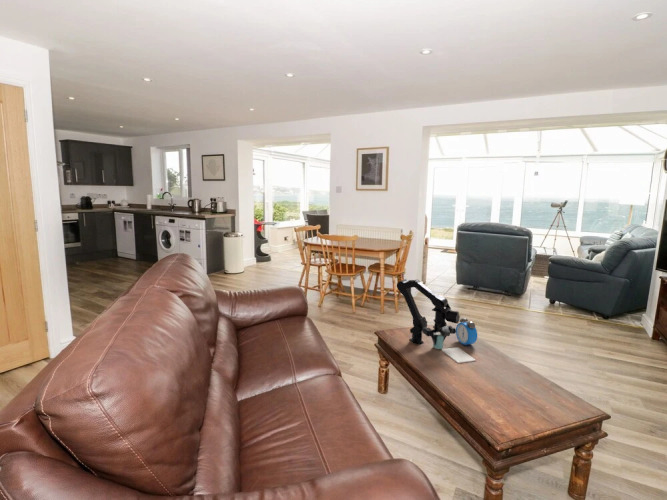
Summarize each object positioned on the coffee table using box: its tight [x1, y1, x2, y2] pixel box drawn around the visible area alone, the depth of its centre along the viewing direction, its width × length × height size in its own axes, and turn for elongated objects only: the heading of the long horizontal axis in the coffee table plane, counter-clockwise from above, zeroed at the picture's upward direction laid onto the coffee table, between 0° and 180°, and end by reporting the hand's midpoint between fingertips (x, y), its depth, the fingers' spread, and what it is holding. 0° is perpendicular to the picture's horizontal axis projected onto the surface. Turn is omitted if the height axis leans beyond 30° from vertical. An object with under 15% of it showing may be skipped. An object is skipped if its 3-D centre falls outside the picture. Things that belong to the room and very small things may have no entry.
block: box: [432, 332, 445, 350], centre depth 209 cm, size 4×4×8 cm
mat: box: [441, 347, 476, 364], centre depth 201 cm, size 16×11×1 cm
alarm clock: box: [455, 317, 478, 346], centre depth 215 cm, size 13×6×15 cm, turn 17°
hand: (438, 344), depth 210 cm, fingers closed on block, 4 cm apart
